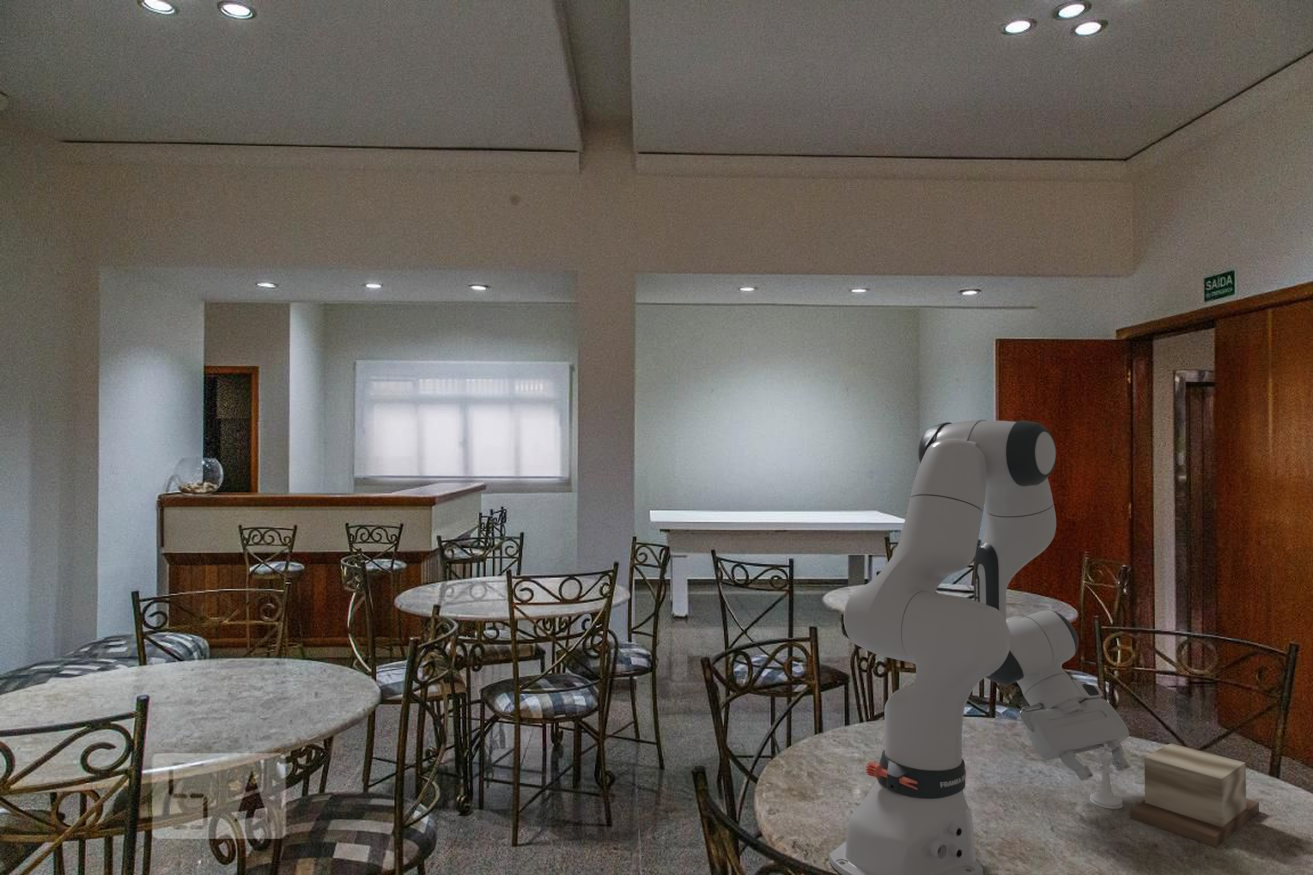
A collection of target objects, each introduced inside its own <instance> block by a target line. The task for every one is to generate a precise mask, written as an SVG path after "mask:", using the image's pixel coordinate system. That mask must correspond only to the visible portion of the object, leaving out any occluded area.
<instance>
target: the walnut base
mask: <svg viewBox="0 0 1313 875" xmlns="http://www.w3.org/2000/svg"><path fill="white" fill-rule="evenodd" d="M1143 768H1144V799H1143V800H1142V801H1140V802H1139V803H1137V804H1136V805H1134V806H1132V807H1130V808H1129V809H1130V810H1129V811H1130V812H1129V815H1130V816H1129V818H1130V819H1132V820H1134V821H1138V822H1141V823H1144V824H1147V825H1150V826H1153V827H1156V828H1158V829H1162V830H1165V831H1167V832H1171V833H1174V834H1176V835H1179V836H1182V837H1185V838H1188V839H1191V840H1194V841H1197V842H1199V843H1202V844H1206V845H1208V846H1211V847H1215V848H1217V847H1218V846H1219V845H1220V844H1221V843H1223V842H1224V841H1225V840H1226V839H1228V838H1229V837H1230V836H1231V835H1232V834H1234V832H1236V831H1237V830H1238V829H1240V828H1241V827H1242V826H1243V825H1244V824H1245V823H1247V822H1248V821H1249V820H1250V819H1252V818H1253V817H1254V816H1255V815H1257V814H1258V813H1259V812H1260V801H1256V800H1252V799H1249V798H1247V780H1246V779H1247V778H1246V777H1247V774H1246V773H1247V772H1246V770H1247V769H1246V762H1244V761H1241V760H1237V759H1234V758H1233V759H1232V758H1230V757H1224V756H1221V755H1219V754H1215V753H1211V752H1207V751H1201V750H1198V749H1195V748H1192V747H1191V748H1190V747H1187V746H1183V745H1179V744H1176V743H1171V742H1170V743H1169V744H1167V745H1164V746H1163V747H1161V748H1159V749H1157V750H1156V751H1154V752H1152V753H1150V754H1148V755H1146V756H1145V757H1144V766H1143ZM1256 813H1257V814H1256Z"/></svg>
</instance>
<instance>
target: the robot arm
mask: <svg viewBox="0 0 1313 875" xmlns="http://www.w3.org/2000/svg"><path fill="white" fill-rule="evenodd" d="M1053 436H1054V435H1053V434H1052V433H1051V432H1050V431H1049V429H1047V428H1046V427H1045V426H1044V425H1043V424H1042V423H1039V422H1035V421H1031V420H1030V421H1029V420H1023V419H1022V420H1018V421H1010V420H1009V421H1008V420H986V419H974V420H973V419H972V420H966V421H957V422H953V423H952V422H949V421H947V422H943V423H938V424H936V425H933V426H931V427H929V428H928V429H926V431H925V432H924V434H923V435H922V437H921V438H920V441H919V443H918V444H919V445H918V449H917V450H918V451H917V452H918V460H919V466H918V469H917V471H916V475H915V478H914V480H913V484H912V487H911V492H910V497H909V500H908V506H907V510H906V514H905V518H904V522H903V526H902V530H901V534H900V538H899V541H898V542H897V546H896V549H895V550H894V552H893V554H892V556H891V557H890V559H889V561H888V562H887V563H886V565H885V566H884V567H883V568H882V569H881V571H880V572H879V573H878V574H877V575H876V576H875V577H874V578H873V579H872V580H870V581H869V582H868V583H866V584H864V585H863V586H861V587H859V588H858V589H856V590H855V591H854V592H853V593H852V594H851V595H850V596H849V598H848V599H847V601H846V603H845V606H844V610H843V624H844V629H845V632H846V634H847V637H848V639H849V640H850V641H851V642H852V643H853V644H854V645H856V646H858V647H860V648H862V649H864V650H866V651H867V652H870V653H873V654H875V655H877V656H880V657H884V658H889V659H893V660H897V661H898V660H899V661H902V662H907V663H911V664H914V665H915V678H914V681H913V684H910V685H907V686H904V687H902V688H899V689H897V690H895V691H894V692H893V693H892V694H891V695H890V696H889V697H888V699H887V701H886V703H885V704H884V749H883V750H882V753H881V756H880V758H879V763H876V762H874V761H869V762H867V765H866V766H865V773H866V775H867V776H869V777H873V778H876V779H877V780H876V782H875V784H874V785H873V786H872V788H871V789H870V790H869V791H868V794H866V796H865V797H864V798H863V800H862V802H861V803H860V804H859V806H858V807H857V808H856V809H855V811H854V812H853V814H852V815H851V817H850V818H849V820H848V823H847V828H846V829H847V830H846V838H845V841H844V842H843V843H841V844H840V845H838V846H837V847H836V848H835V849H834V850H832V851H831V852H830V853H829V856H828V857H829V858H828V861H829V863H830V865H831V866H832V867H833V868H834V869H835V871H836V872H838V873H839V874H841V875H984V869H983V868H984V867H983V866H982V865H981V864H980V862H979V861H978V860H977V854H976V852H977V851H976V843H975V833H974V822H973V815H972V812H971V809H970V807H969V805H968V802H967V799H966V797H965V794H964V789H965V788H966V777H967V771H966V763H965V760H964V759H963V756H962V755H963V752H962V748H963V725H964V724H963V722H964V714H965V708H966V706H967V702H968V700H969V698H970V695H971V694H972V692H973V690H974V689H975V688H976V687H977V685H978V684H980V682H981V681H982V680H983V679H985V678H986V679H988V680H989V681H991V682H994V683H995V684H998V685H1001V686H1002V685H1003V686H1006V687H1007V686H1010V685H1011V684H1014V683H1017V684H1018V686H1019V687H1020V689H1021V692H1022V695H1023V697H1024V699H1025V700H1026V702H1027V703H1028V705H1024V706H1022V707H1021V710H1020V711H1019V718H1020V720H1021V722H1022V723H1023V725H1024V729H1025V731H1026V734H1027V736H1028V738H1029V740H1030V741H1031V744H1032V745H1033V747H1034V749H1035V750H1036V752H1037V755H1039V757H1041V758H1043V759H1044V760H1045V761H1050V760H1054V759H1059V758H1060V761H1062V763H1063V765H1065V766H1066V767H1068V768H1069V769H1070V770H1072V771H1073V772H1074V773H1075V774H1076V776H1077V777H1078V778H1079V780H1080V781H1088V780H1089V779H1091V778H1092V777H1093V772H1092V771H1091V770H1090V768H1089V766H1088V765H1084V764H1082V763H1081V761H1079V760H1078V759H1077V758H1076V757H1077V755H1076V754H1081V753H1086V752H1090V751H1094V750H1100V747H1104V744H1107V747H1109V748H1111V751H1108V754H1109V753H1111V756H1112V759H1113V760H1114V761H1111V764H1112V765H1113V767H1114V768H1115V769H1116V771H1117V772H1123V771H1127V770H1128V769H1130V766H1131V765H1130V764H1129V762H1128V761H1127V758H1125V755H1124V754H1125V753H1124V748H1123V746H1122V744H1121V743H1123V742H1124V741H1126V740H1127V739H1128V738H1129V736H1130V732H1129V728H1128V726H1127V725H1126V724H1125V721H1124V720H1123V718H1121V716H1120V715H1119V713H1118V712H1117V711H1116V709H1115V708H1114V707H1113V706H1112V704H1110V702H1108V701H1107V699H1104V698H1101V697H1102V696H1103V691H1102V690H1101V689H1100V687H1099V686H1097V685H1096V684H1090V683H1087V682H1082V681H1079V680H1076V679H1072V677H1070V676H1069V674H1068V673H1067V672H1066V671H1065V670H1064V669H1063V667H1062V666H1063V664H1064V663H1066V662H1068V661H1070V660H1071V659H1072V658H1074V657H1075V656H1076V654H1077V652H1078V648H1079V635H1078V632H1077V631H1076V630H1075V628H1074V626H1073V625H1072V622H1070V621H1069V620H1068V619H1067V618H1066V617H1065V616H1063V615H1062V614H1061V613H1059V612H1057V611H1055V610H1052V609H1047V610H1041V611H1040V610H1039V611H1036V612H1033V613H1031V614H1028V615H1025V616H1018V615H1017V616H1016V615H1014V616H1010V617H1007V589H1008V587H1009V584H1010V583H1011V581H1012V580H1013V578H1014V577H1015V575H1016V574H1018V572H1019V571H1020V570H1021V569H1022V568H1024V567H1025V566H1026V565H1027V564H1029V563H1030V562H1031V561H1033V560H1034V559H1035V558H1036V557H1038V556H1040V554H1041V553H1043V552H1044V551H1045V550H1046V549H1047V548H1048V547H1049V546H1050V544H1051V543H1052V541H1053V539H1054V538H1055V534H1056V530H1057V517H1056V515H1057V514H1056V509H1055V505H1054V504H1055V503H1054V499H1053V493H1052V489H1051V484H1050V482H1049V479H1048V478H1049V477H1050V476H1051V474H1052V473H1053V471H1054V469H1055V466H1056V462H1057V446H1056V442H1055V439H1054V437H1053ZM984 509H985V514H986V516H985V517H986V522H985V529H984V535H983V538H982V540H981V543H980V544H979V545H978V543H979V538H980V532H981V525H982V519H983V514H984ZM972 562H973V599H971V598H969V597H965V596H959V595H952V594H946V593H945V594H944V593H938V592H937V589H938V588H939V586H940V585H941V583H942V582H943V581H944V580H946V579H947V578H948V577H949V576H951V575H953V574H956V573H958V572H960V571H962V570H964V569H967V568H968V567H969V566H970V565H971V563H972Z"/></svg>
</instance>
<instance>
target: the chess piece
mask: <svg viewBox="0 0 1313 875" xmlns="http://www.w3.org/2000/svg"><path fill="white" fill-rule="evenodd" d="M1099 750H1100V751H1103V752H1102V753H1098V757H1099V759H1100V763H1101V766H1099V767H1098V770H1099V771H1100V772H1102V775H1101V776H1102V777H1101V784H1100V790H1098V791H1097V792H1092V793H1091V794H1090V796H1089V797H1090V798H1089V801H1090V802H1091V803H1092V804H1094V805H1096V806H1098V807H1101V808H1104V809H1110V810H1113V809H1114V810H1116V809H1122V808H1123V807H1124V805H1123V800H1122V799H1121V798H1120V797H1118V796H1117V795H1115V794H1114V792H1113V791H1112V787H1111V786H1112V785H1111V780H1110V774H1111V773H1114V770H1113V769H1112V768H1111V767H1110V765H1111V764H1112V762H1113V755H1112V754H1109V752H1108V751H1111V748H1109V747H1107V744H1104V747H1100V748H1099Z"/></svg>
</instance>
